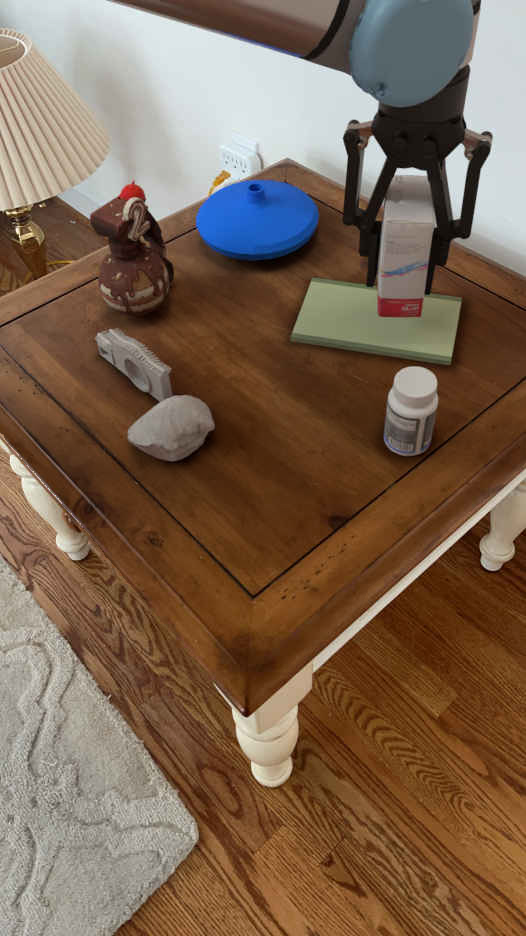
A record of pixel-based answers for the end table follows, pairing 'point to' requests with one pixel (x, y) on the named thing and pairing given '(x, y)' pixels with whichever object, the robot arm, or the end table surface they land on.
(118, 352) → the garden wall model
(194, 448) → the grey stone
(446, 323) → the mat
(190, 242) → the end table surface
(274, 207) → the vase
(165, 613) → the end table surface
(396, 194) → the ink box
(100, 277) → the grenade
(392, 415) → the pill bottle
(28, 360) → the end table surface
